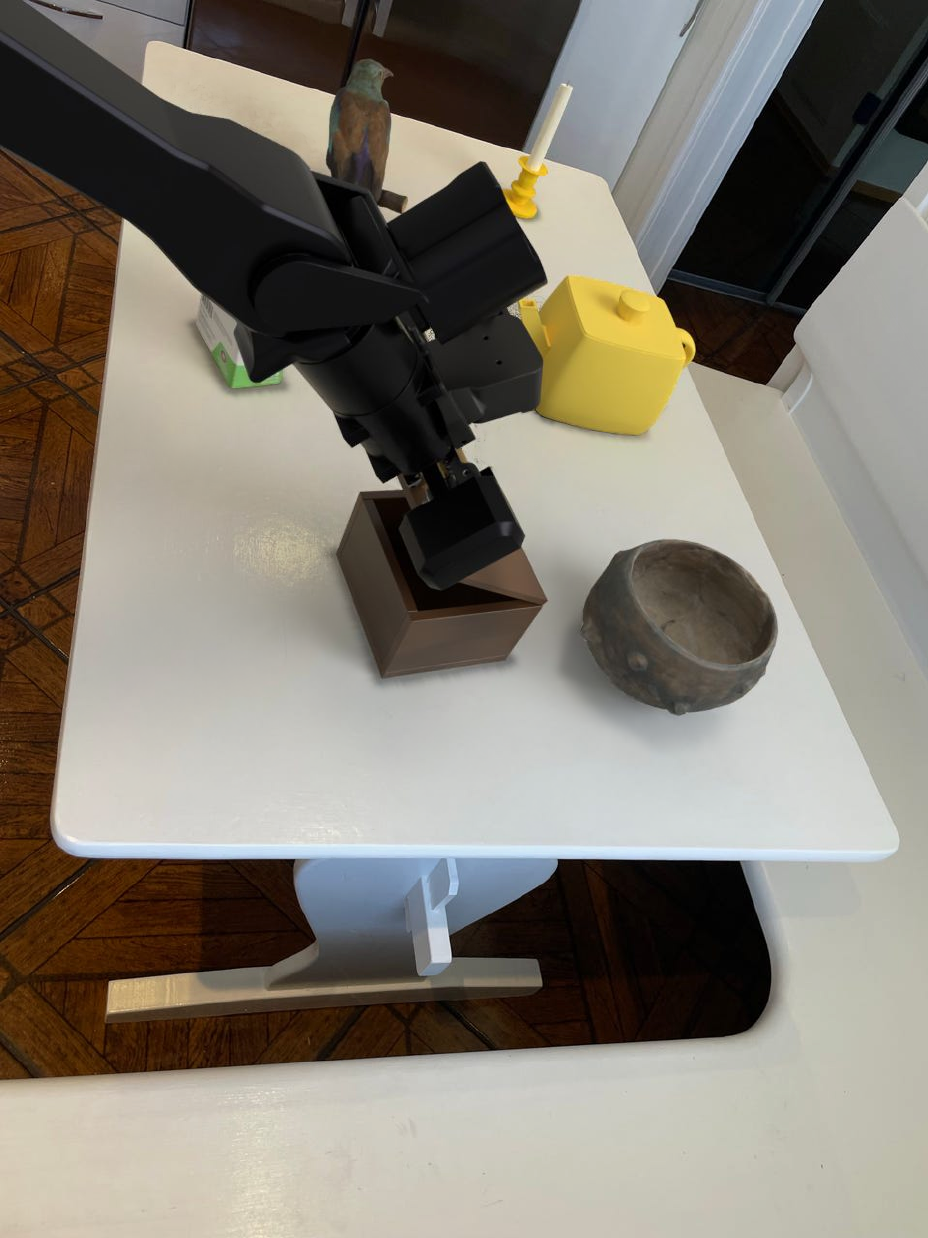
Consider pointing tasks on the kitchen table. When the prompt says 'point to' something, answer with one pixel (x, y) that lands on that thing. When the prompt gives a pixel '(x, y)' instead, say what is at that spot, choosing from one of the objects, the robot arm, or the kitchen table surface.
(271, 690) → the kitchen table surface
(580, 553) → the kitchen table surface
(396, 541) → the chest
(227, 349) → the ink box
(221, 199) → the robot arm
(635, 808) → the kitchen table surface
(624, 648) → the bowl
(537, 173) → the candle
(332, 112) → the bird figurine
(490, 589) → the lid
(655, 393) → the teapot
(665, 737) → the kitchen table surface
